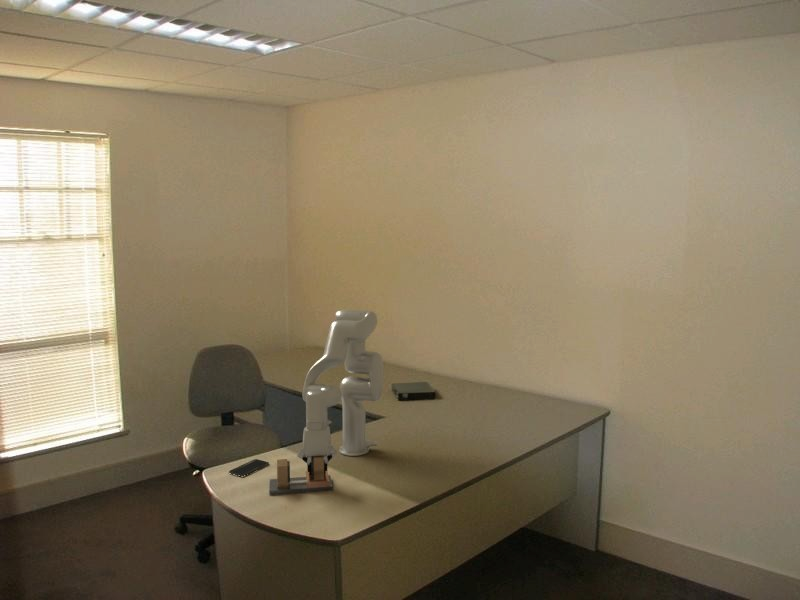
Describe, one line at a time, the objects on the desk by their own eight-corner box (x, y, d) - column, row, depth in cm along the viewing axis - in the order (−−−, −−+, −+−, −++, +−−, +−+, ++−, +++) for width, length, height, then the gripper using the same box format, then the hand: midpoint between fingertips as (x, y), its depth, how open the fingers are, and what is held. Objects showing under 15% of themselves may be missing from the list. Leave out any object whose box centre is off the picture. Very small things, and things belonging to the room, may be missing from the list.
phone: (227, 471, 236) (255, 458, 248) (227, 474, 236) (255, 461, 249) (242, 476, 232) (270, 462, 244) (243, 478, 232) (270, 465, 245)
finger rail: (330, 478, 231) (330, 454, 230) (332, 490, 221) (332, 464, 220) (269, 483, 227) (269, 458, 226) (269, 495, 217) (268, 469, 216)
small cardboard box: (324, 479, 222) (323, 458, 221) (311, 480, 221) (311, 458, 220) (323, 472, 228) (322, 451, 227) (310, 473, 228) (310, 452, 227)
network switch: (387, 391, 352) (387, 383, 351) (426, 388, 359) (426, 380, 358) (399, 403, 330) (399, 394, 329) (440, 399, 337) (440, 390, 336)
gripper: (339, 419, 228) (339, 467, 230) (292, 422, 225) (293, 470, 227) (341, 426, 220) (341, 475, 223) (293, 429, 217) (294, 479, 219)
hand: (317, 472), depth 225 cm, fingers closed on small cardboard box, 4 cm apart
